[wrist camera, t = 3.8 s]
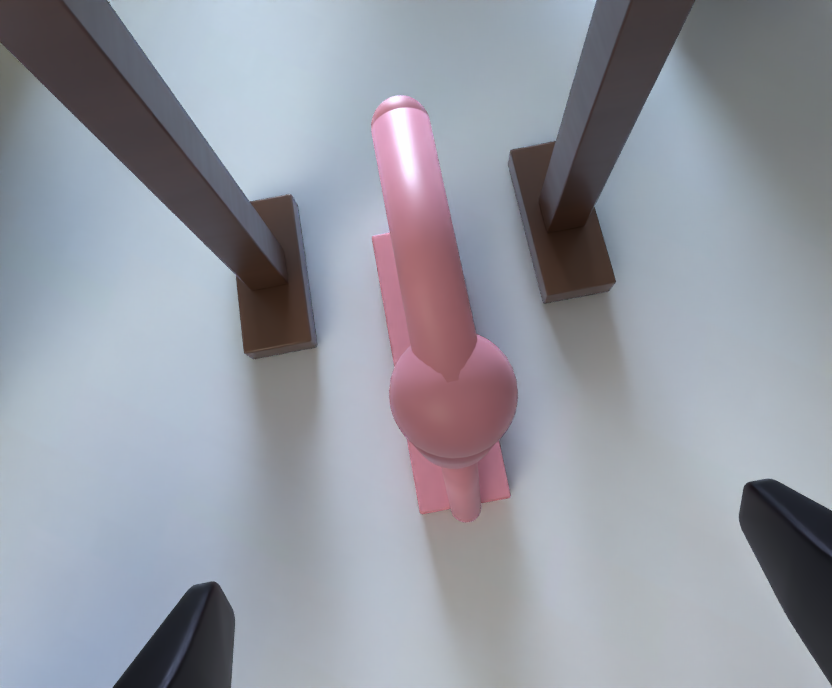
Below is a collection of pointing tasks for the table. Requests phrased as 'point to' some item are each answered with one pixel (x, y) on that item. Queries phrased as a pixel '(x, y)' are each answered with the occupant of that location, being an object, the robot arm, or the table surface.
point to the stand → (279, 216)
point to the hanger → (436, 328)
